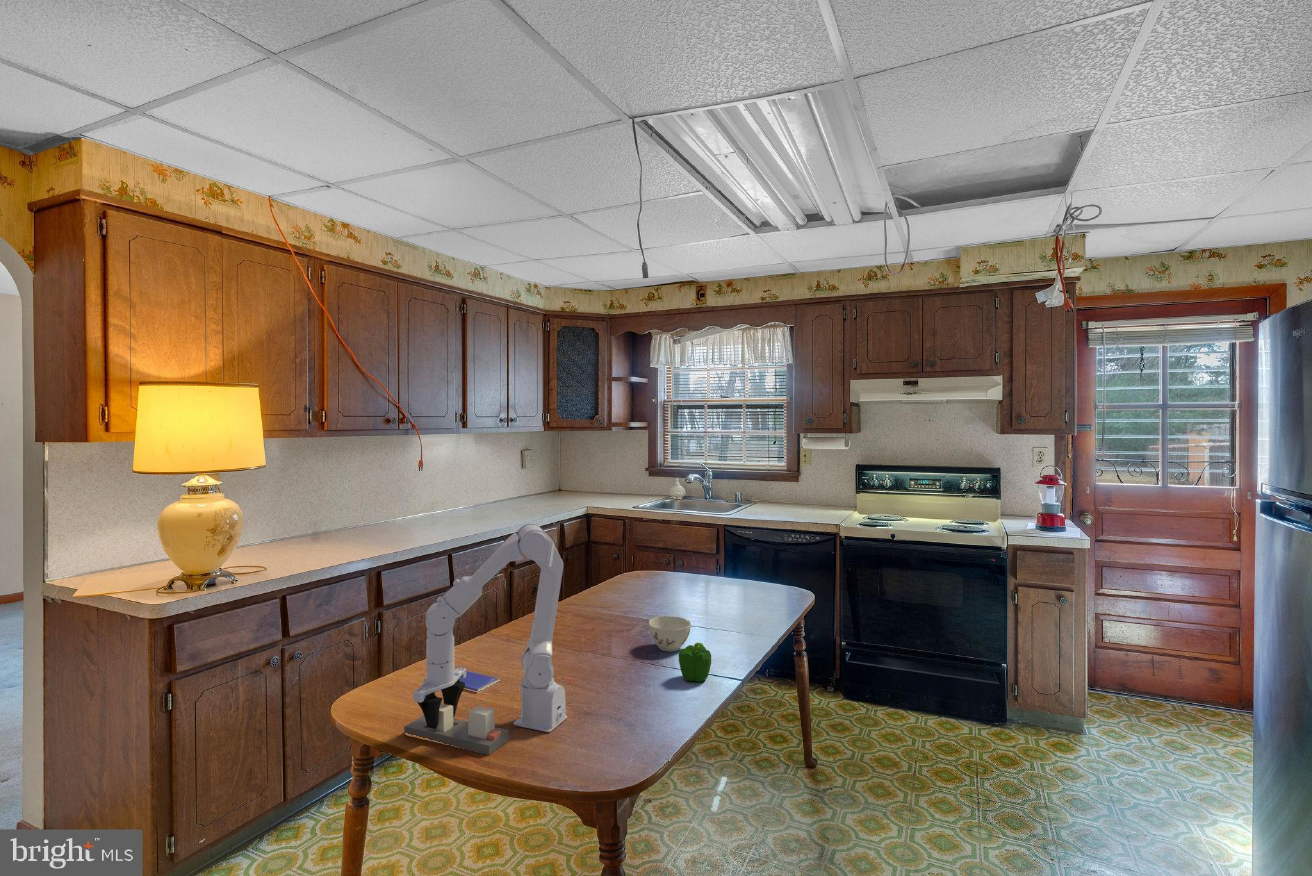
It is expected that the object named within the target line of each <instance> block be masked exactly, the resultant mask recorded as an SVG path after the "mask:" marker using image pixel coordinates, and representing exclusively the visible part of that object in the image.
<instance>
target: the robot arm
mask: <svg viewBox="0 0 1312 876" xmlns="http://www.w3.org/2000/svg"><path fill="white" fill-rule="evenodd" d="M559 553H560V552H559V551H558V549H557V547H556V545H555V543H554V541H553V539H552V538H551V537H550V536H549V534H548V533H547V532H546V531H545V530H544V529H543V528H542V527H540V525H538V524H537V523H526V524H524V525H522V526H520V528H519V529H518V531H517V532H514V533H512V534H511V535H510V536H509V537H508V538H506V539H505V541H504V542H502V544H501V545H500V546H499V547H498V548H497V549H496V550H495V551H494V552H493V553H492V554H491V556H489V557H488V558H487V559H486V561H484V562H483V564H482V565H481V566H480V567H479V568H478V569H477V570H476V571H475V572H473V574H472V575H469V576H468V575H467V576H465V575H464V576H462V577H461V578H460V579H458V578H456V579H455V580H454V581H453V583H452V584H453V586H451V588H450V589H449V590H448V591H446V592H445V594H444V595H443V596H439V597H438V598H436V602H435V603H433V604H431V605H430V606H429V608H428V609H427V611H426V614H425V627H426V637H427V638H426V640H425V643H426V646H425V647H426V654H425V655H426V677H424V678H423V682H424V683H422V684H421V685H420V686H419V687H418V688H417V689H416V690H415V691H413V692H412V693H413V694H412V695H413V696H412V698H413V700H412V701H413V702H415V703H417V704H418V706H419V708H420V709H421V711H422V715H424V717H425V720H426V723H427V727H428V728H432V729H436V728H437V726H438V716H439V708H440V704H441V703H443V704H446V705H451V706H453V718H454V717H456V713H457V707H458V703H459V700H460V698H461V696H462V693H463V691H464V690H463V689H464V688H465V682H461V681H460V678H465V677H466V671H467V668H464V667H458V668H455V666H456V665H455V635H454V633H453V630H454V627H455V623H456V619H457V618H459V617H460V618H461V616H462V615H463V614H465V612H466V611H467V610H469V609H470V607H471V606H472V605H474V603H475V602H477V601H478V599H480V597H482V595H483V586H485V584H487V583H488V582H489V581H491V579H492V578H493V577H494V576H495V575H497V574H498V573H499V572H500V571H502V569H503V568H504V567H506V565H508V564H509V563H510V562H517V561H523V560H524V558H523V556H525V557H526V558H528V559H530V560H532V561H533V562H535V563H536V565H538V567H539V569H540V572H539V573H540V574H539V580H538V588H537V593H536V600H535V605H534V613H533V621H532V625H531V632H530V636H529V639H528V642H527V647H526V649H525V651H524V652H523V654H522V656H521V659H520V661H521V666H522V669H523V672H524V675H523V677H522V679H520V691H521V692H520V698H521V699H520V704H521V705H520V706H521V708H520V709H521V710H520V713H521V714H520V715H521V716H520V717H519V718H518V719H516V720H515V721H513V723H512V724H513V726H516V727H521V728H527V729H531V730H535V731H540V732H545V733H551V732H552V731H553V730H554V729H555V728H557V727H558V726H559V725H560V724H561V723H563V722H564V721H565V720H566V719H567V718H568V715H566V714H567V713H566V690H565V687H564V686H563V685H562V684H561V685H560V684H558V682H555V679H554V675H555V669H554V665H553V662H552V659H553V637H554V631H555V623H556V616H557V612H558V604H559V597H560V592H561V591H560V590H561V586H562V585H561V584H562V578H563V577H562V576H563V572H564V562H563V559H562V558H561V555H560V554H559ZM522 555H523V556H522ZM439 691H441V694H442V697H439V696H437V694H436V693H437V692H439ZM442 701H443V702H442Z"/></svg>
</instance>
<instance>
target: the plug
mask: <svg viewBox="0 0 1312 876" xmlns="http://www.w3.org/2000/svg"><path fill="white" fill-rule="evenodd" d="M453 719H454V717H453V706H451V705H446V704H444V703H443V702H441V704H440V708H439V716H438V726H437V728H436V729H434V730H438V731H443V732H446V731H448V730H449V729H451V728H452V727H453ZM429 729H432V728H429Z"/></svg>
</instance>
